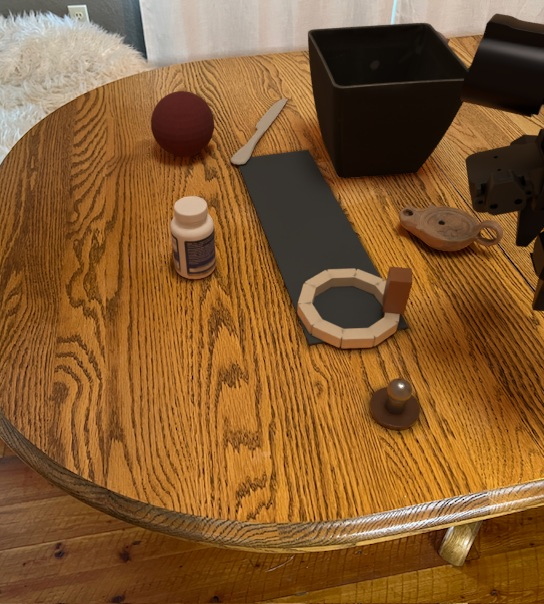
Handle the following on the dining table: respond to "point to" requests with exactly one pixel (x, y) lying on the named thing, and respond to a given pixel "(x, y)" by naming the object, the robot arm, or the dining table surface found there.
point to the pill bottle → (193, 238)
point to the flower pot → (383, 95)
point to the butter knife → (258, 133)
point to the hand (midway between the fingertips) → (528, 276)
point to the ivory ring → (386, 292)
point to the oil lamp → (447, 227)
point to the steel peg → (395, 405)
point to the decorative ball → (182, 124)
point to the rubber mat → (310, 237)
